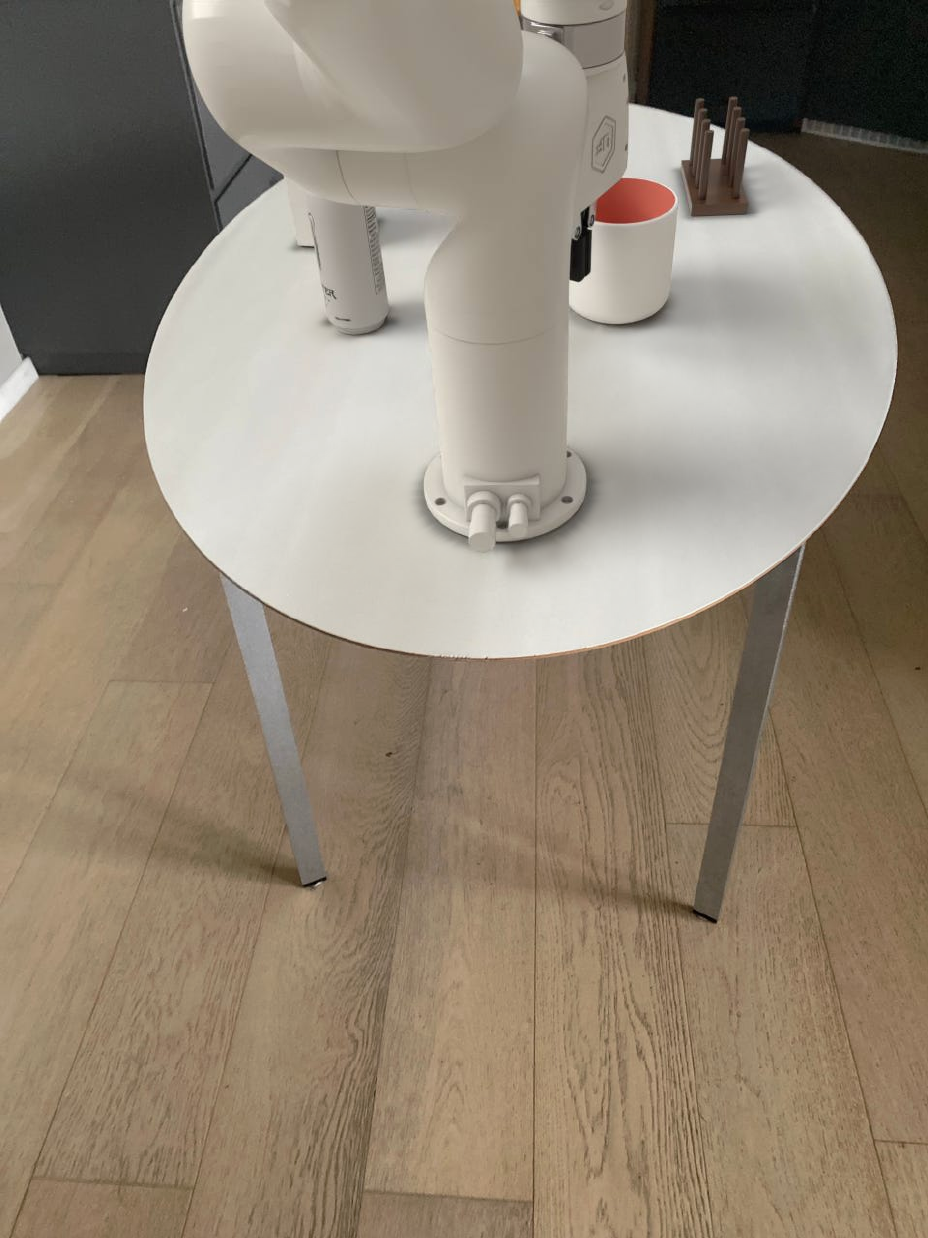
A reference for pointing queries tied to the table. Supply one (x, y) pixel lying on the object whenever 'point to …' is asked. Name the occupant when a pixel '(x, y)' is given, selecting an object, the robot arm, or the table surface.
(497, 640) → the table surface
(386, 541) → the table surface
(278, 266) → the table surface
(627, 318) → the cup
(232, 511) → the table surface
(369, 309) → the energy drink can
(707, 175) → the dish rack
